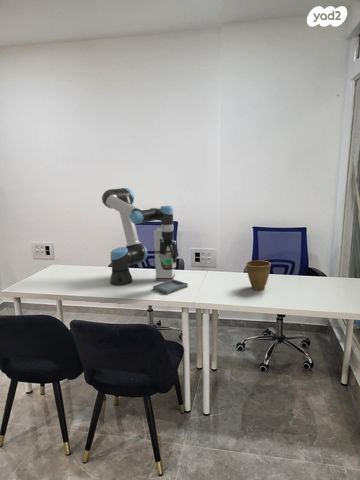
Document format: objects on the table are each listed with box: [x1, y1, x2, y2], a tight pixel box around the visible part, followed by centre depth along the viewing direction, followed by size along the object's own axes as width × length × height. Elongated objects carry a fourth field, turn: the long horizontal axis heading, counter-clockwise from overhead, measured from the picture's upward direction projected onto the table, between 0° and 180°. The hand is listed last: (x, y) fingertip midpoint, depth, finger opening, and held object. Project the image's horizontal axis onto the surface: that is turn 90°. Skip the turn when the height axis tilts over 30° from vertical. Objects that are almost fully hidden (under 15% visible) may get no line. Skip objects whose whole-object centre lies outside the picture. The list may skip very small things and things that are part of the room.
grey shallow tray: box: [152, 278, 189, 296], centre depth 220 cm, size 14×18×2 cm
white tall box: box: [153, 227, 176, 282], centre depth 237 cm, size 11×11×35 cm
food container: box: [159, 253, 177, 270], centre depth 216 cm, size 12×6×10 cm, turn 104°
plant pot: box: [245, 259, 272, 291], centre depth 213 cm, size 15×15×16 cm
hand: (169, 266), depth 217 cm, fingers closed on food container, 8 cm apart
